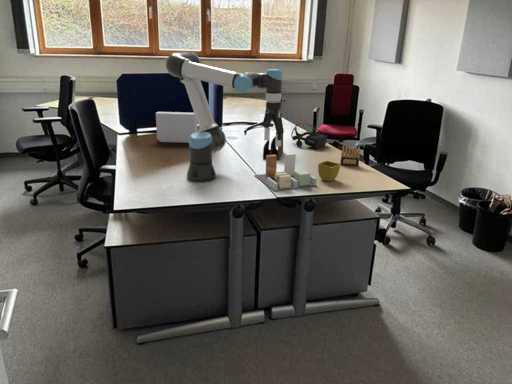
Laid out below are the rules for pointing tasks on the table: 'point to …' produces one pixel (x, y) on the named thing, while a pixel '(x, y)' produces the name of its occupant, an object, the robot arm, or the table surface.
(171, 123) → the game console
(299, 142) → the virtual reality headset
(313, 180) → the lane rack
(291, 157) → the sage block
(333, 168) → the flower pot
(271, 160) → the birch block
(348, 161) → the ammunition clip
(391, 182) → the table surface
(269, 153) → the letter holder
